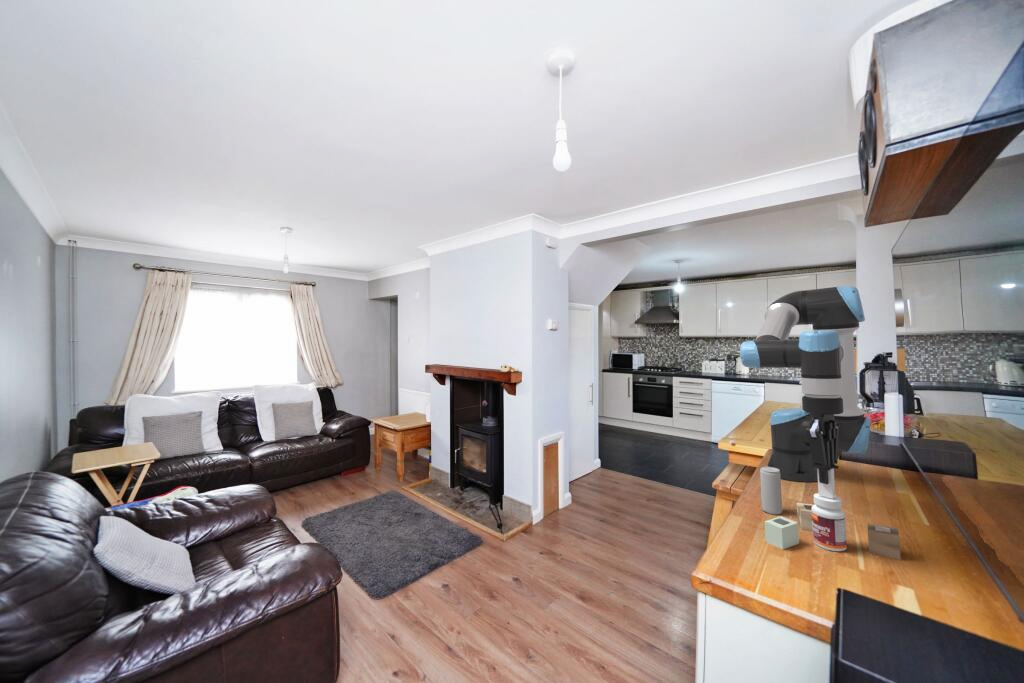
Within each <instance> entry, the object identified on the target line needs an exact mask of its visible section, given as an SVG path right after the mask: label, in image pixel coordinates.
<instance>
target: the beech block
mask: <svg viewBox="0 0 1024 683" xmlns="http://www.w3.org/2000/svg"><path fill="white" fill-rule="evenodd" d="M813 505H814V504H811V503H810V504H809V503H801V502H796V516H797V517H796V518H797V520H796V521H797V523H798V526H799V528H800V530H802V531H808V532H809V531H810V532H812V511H811V508H812V506H813Z"/></svg>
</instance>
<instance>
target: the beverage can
mask: <svg viewBox="0 0 1024 683" xmlns="http://www.w3.org/2000/svg"><path fill="white" fill-rule="evenodd" d="M759 478H760V495H761V496H760V497H761V509H762V511H763V512H764V513H766V514H769V515H774V516H778V515H779V516H780V515H781V514H782V513H783V500H782V499H783V498H782V480H781V476H780V470H779V469H777V468H773V467H767V466H761V467H760V470H759Z"/></svg>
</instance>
